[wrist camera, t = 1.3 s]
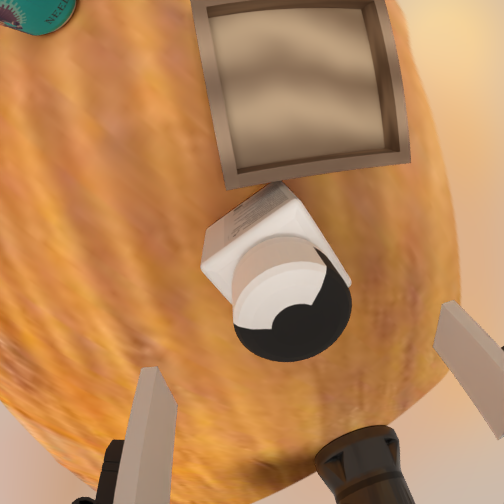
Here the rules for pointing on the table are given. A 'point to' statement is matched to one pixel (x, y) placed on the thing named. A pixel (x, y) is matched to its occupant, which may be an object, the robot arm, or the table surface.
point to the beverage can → (36, 15)
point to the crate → (301, 87)
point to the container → (278, 276)
